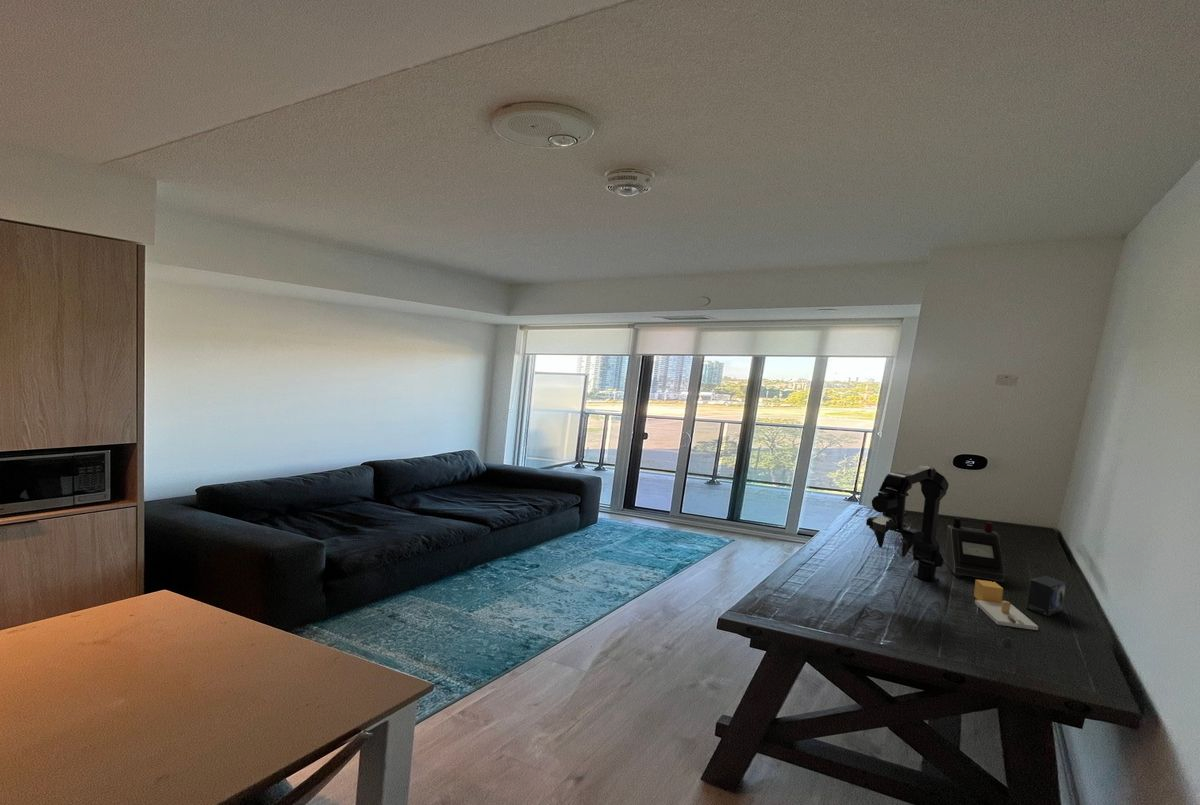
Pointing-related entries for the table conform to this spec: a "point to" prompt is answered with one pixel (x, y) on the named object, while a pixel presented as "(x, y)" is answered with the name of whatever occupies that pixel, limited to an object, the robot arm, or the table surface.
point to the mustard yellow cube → (988, 591)
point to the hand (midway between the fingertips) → (891, 551)
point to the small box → (1046, 595)
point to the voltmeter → (974, 552)
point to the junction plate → (1006, 614)
